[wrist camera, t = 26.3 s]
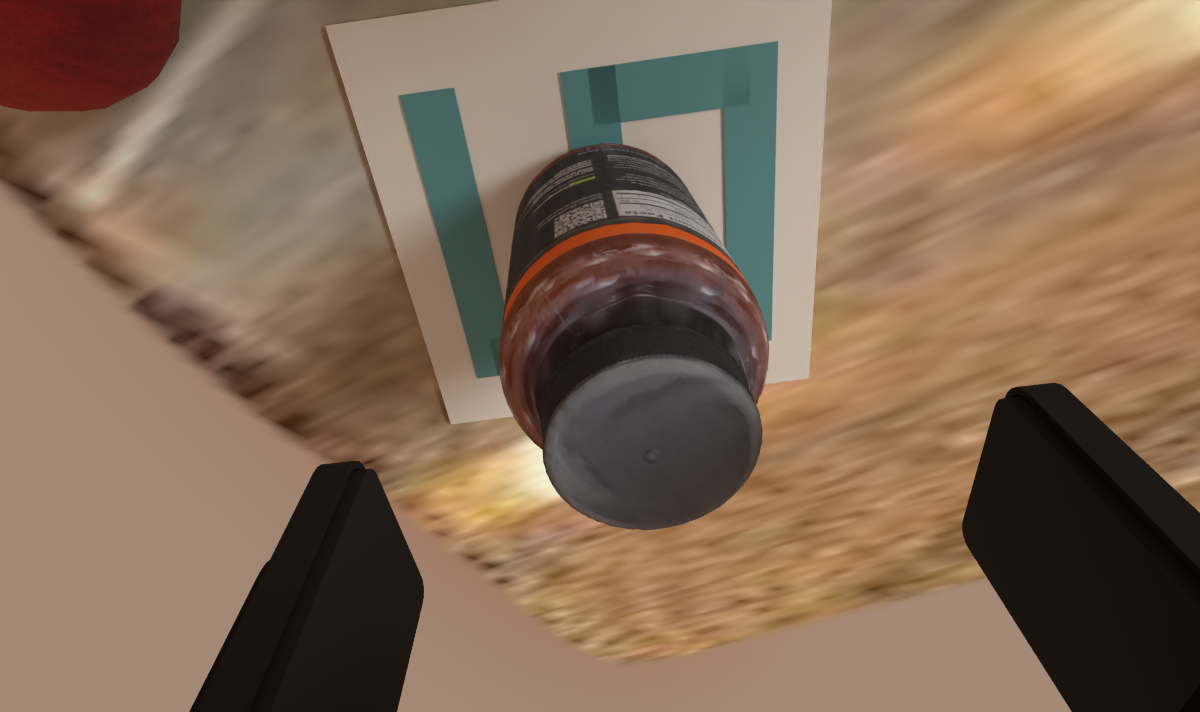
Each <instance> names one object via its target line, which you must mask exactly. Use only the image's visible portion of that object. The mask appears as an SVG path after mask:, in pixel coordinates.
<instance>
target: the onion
mask: <svg viewBox="0 0 1200 712" xmlns="http://www.w3.org/2000/svg"><path fill="white" fill-rule="evenodd" d="M180 11H181V0H0V105H2V106H5V107H10V108H15V109H20V110H25V111H87V110H95V109H103V108H107V107H109V106H111V105H113V104H115V103H116V102H118V101H120V100H122V99H124V98H126V97H128V96H130V95H132V94H134V93H136V92H138V91H140V90H142V89H144V88H146V87H147V86H148V85H149V84H150V83H151V82H153V81H154V80H155V79H156V78H157V77H158V75H159V74H160V72H161V70H162V69H163V67H164V65H165V63H166V62H167V60H168V58H169V56H170V55H171V53H172V51H173V50H174V48H175V46H176V44H177V43H178V41H179V28H180Z"/></svg>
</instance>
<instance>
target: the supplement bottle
mask: <svg viewBox="0 0 1200 712" xmlns="http://www.w3.org/2000/svg"><path fill="white" fill-rule="evenodd" d="M502 322H503V324H502V331H501V337H500V347H499V373H500V380H501V384H502V389H503V393H504V396H505V398H506V401H507V404H508V406H509V408H510V410H511V412H512V414H513V416H514V418H515V419H516V421H517V422H518V424H519V426H520V427H521V428H522V430H523V431H524V432H525V433H526V435H527V436H528V437H529V438H530V439H531V440H532V441H533V442H534V443H535V444H536V445H537V446H539V447H540V448H541V449H542V450H543V462H544V465H545V468H546V473H547V475H548V477H549V479H550V481H551V483H552V485H553V486H554V488H555V490H556V491H557V493H558V494H559V495H560V496H561V497H562V498H563V499H564V500H565V501H566V502H567V503H568V504H569V505H570V506H571V507H572V508H574V509H575V510H577V511H579V512H580V513H582V514H583V515H586V516H587V517H589V518H592V519H594V520H596V521H598V522H602V523H605V524H607V525H609V526H614V527H620V528H626V529H632V530H633V529H640V530H654V529H661V528H668V527H672V526H677V525H681V524H685V523H687V522H689V521H692V520H695V519H698V518H700V517H702V516H704V515H706V514H708V513H710V512H711V511H713V510H715V509H717V508H719V507H720V506H721V505H723V504H724V503H725V502H726V501H727V500H729V499H730V498H731V497H732V496H733V495H734V494H735V493H736V492H737V491H738V490H739V489H740V488H741V487H742V486H743V484H744V483H745V482H746V480H747V479H748V478H749V477H750V475H751V473H752V471H753V469H754V467H755V465H756V462H757V459H758V456H759V453H760V448H761V445H762V425H761V419H760V414H759V410H758V408H757V406H756V404H757V402H758V399H759V397H760V395H761V393H762V390H763V387H764V383H765V379H766V377H767V371H768V360H769V338H768V332H767V329H766V324H765V321H764V318H763V315H762V312H761V309H760V307H759V304H758V302H757V299H756V297H755V295H754V294H753V292H752V290H751V289H750V287H749V285H748V283H747V282H746V280H745V279H744V277H743V275H742V273H741V272H740V270H739V269H738V267H737V265H736V264H735V263H734V261H733V259H732V258H731V256H730V255H729V253H728V251H727V250H726V248H725V247H724V245H723V243H722V242H721V240H720V239H719V237H718V236H717V234H716V233H715V231H714V229H713V228H712V226H711V225H710V223H709V222H708V220H707V218H706V217H705V215H704V214H703V212H702V211H701V209H700V207H699V206H698V204H697V203H696V201H695V200H694V198H693V197H692V195H691V194H690V192H689V190H688V188H687V187H686V185H685V184H684V183H683V181H682V180H681V179H680V177H679V176H678V175H677V174H676V173H675V172H674V171H673V170H672V169H671V168H670V167H669V166H668V165H667V164H665V163H664V162H663V161H661V160H660V159H659V158H657V157H655V156H654V155H652V154H650V153H648V152H646V151H644V150H641V149H638V148H635V147H631V146H628V145H622V144H614V143H600V144H596V145H590V146H585V147H581V148H577V149H574V150H572V151H570V152H568V153H566V154H563V155H561V156H560V157H558V158H557V159H555V160H554V161H553V162H551V163H550V164H548V165H547V166H546V167H544V168H543V169H542V170H541V172H540V173H539V174H538V175H537V176H536V177H535V178H534V179H533V180H532V181H531V183H530V185H529V186H528V188H527V190H526V191H525V193H524V195H523V198H522V200H521V202H520V204H519V208H518V211H517V214H516V220H515V227H514V234H513V240H512V247H511V256H510V264H509V272H508V281H507V288H506V298H505V305H504V314H503V320H502Z"/></svg>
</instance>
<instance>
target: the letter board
mask: <svg viewBox="0 0 1200 712" xmlns="http://www.w3.org/2000/svg"><path fill="white" fill-rule="evenodd" d="M831 7H832V0H497V1H491V2H484V3H477V4H470V5H463V6H456V7H450V8H443V9H436V10H429V11H422V12H415V13H408V14H402V15H395V16H388V17H381V18H374V19H367V20H361V21H354V22H347V23H340V24H333V25H327V26H325V27H326V30H327V34H328V37H329V40H330V43H331V46H332V49H333V53H334V56H335V59H336V62H337V65H338V68H339V72H340V75H341V78H342V81H343V84H344V87H345V90H346V94H347V97H348V100H349V103H350V106H351V109H352V113H353V116H354V119H355V122H356V125H357V128H358V132H359V135H360V138H361V141H362V144H363V147H364V151H365V154H366V157H367V160H368V163H369V166H370V169H371V173H372V176H373V179H374V182H375V185H376V188H377V192H378V195H379V198H380V201H381V204H382V207H383V211H384V214H385V217H386V220H387V223H388V226H389V230H390V233H391V236H392V239H393V242H394V245H395V248H396V252H397V255H398V258H399V261H400V264H401V267H402V271H403V274H404V277H405V280H406V283H407V286H408V290H409V293H410V296H411V299H412V302H413V305H414V309H415V312H416V315H417V318H418V321H419V324H420V327H421V331H422V334H423V337H424V340H425V343H426V346H427V350H428V353H429V356H430V359H431V362H432V365H433V369H434V372H435V375H436V378H437V381H438V384H439V388H440V391H441V394H442V397H443V400H444V403H445V407H446V410H447V413H448V416H449V419H450V422H451V424H458V423H466V422H473V421H481V420H489V419H497V418H505V417H512V416H513V414H512V412H511V410H510V408H509V406H508V404H507V401H506V398H505V396H504V393H503V389H502V384H501V380H500V373H499V347H500V337H501V331H502V324H503V322H502V320H503V314H504V305H505V298H506V288H507V281H508V272H509V264H510V256H511V247H512V240H513V234H514V227H515V220H516V214H517V211H518V208H519V204H520V202H521V200H522V198H523V195H524V193H525V191H526V190H527V188H528V186H529V185H530V183H531V181H532V180H533V179H534V178H535V177H536V176H537V175H538V174H539V173H540V172H541V170H542V169H543V168H544V167H546V166H547V165H548V164H550V163H551V162H553V161H554V160H555V159H557V158H558V157H560V156H561V155H563V154H566V153H568V152H570V151H572V150H574V149H577V148H581V147H585V146H590V145H596V144H600V143H614V144H622V145H628V146H631V147H635V148H638V149H641V150H644V151H646V152H648V153H650V154H652V155H654V156H655V157H657V158H659V159H660V160H661V161H663V162H664V163H665V164H667V165H668V166H669V167H670V168H671V169H672V170H673V171H674V172H675V173H676V174H677V175H678V176H679V177H680V179H681V180H682V181H683V183H684V184H685V185H686V187H687V188H688V190H689V192H690V194H691V195H692V197H693V198H694V200H695V201H696V203H697V204H698V206H699V207H700V209H701V211H702V212H703V214H704V215H705V217H706V218H707V220H708V222H709V223H710V225H711V226H712V228H713V229H714V231H715V233H716V234H717V236H718V237H719V239H720V240H721V242H722V243H723V245H724V247H725V248H726V250H727V251H728V253H729V255H730V256H731V258H732V259H733V261H734V263H735V264H736V265H737V267H738V269H739V270H740V272H741V273H742V275H743V277H744V279H745V280H746V282H747V283H748V285H749V287H750V289H751V290H752V292H753V294H754V295H755V297H756V299H757V302H758V304H759V307H760V309H761V312H762V315H763V318H764V321H765V324H766V329H767V332H768V338H769V360H768V371H767V377H766V379H765V383H764V384H770V383H777V382H785V381H793V380H801V379H809V369H810V353H811V336H812V320H813V303H814V287H815V271H816V254H817V238H818V221H819V205H820V188H821V172H822V155H823V139H824V122H825V106H826V89H827V73H828V56H829V40H830V23H831Z"/></svg>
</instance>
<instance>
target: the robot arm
mask: <svg viewBox="0 0 1200 712" xmlns="http://www.w3.org/2000/svg"><path fill="white" fill-rule="evenodd" d="M962 531H963V536H964V539H965V542H966V544H967V546H968V548H969V550H970V551H971V553H972V555H973V556H974V558H975V559H976V561H977V562H978V564H979V566H980V567H981V569H982V570H983V572H984V574H985V575H986V577H987V578H988V580H989V581H990V583H991V585H992V586H993V588H994V589H995V591H996V592H997V594H998V595H999V597H1000V599H1001V600H1002V602H1003V603H1004V605H1005V607H1006V608H1007V610H1008V611H1009V613H1010V615H1011V616H1012V618H1013V619H1014V621H1015V623H1016V624H1017V626H1018V627H1019V629H1020V630H1021V632H1022V634H1023V635H1024V637H1025V638H1026V640H1027V642H1028V643H1029V645H1030V646H1031V648H1032V649H1033V651H1034V653H1035V654H1036V656H1037V657H1038V659H1039V661H1040V662H1041V664H1042V665H1043V667H1044V668H1045V670H1046V672H1047V673H1048V675H1049V676H1050V678H1051V680H1052V681H1053V682H1054V684H1055V685H1056V687H1057V689H1058V691H1059V692H1060V694H1061V695H1062V697H1063V699H1064V700H1065V702H1066V703H1067V705H1068V706H1069V708H1070V710H1071V711H1072V712H1200V513H1199V512H1198V511H1197V510H1196V509H1195V508H1194V507H1193V506H1192V505H1191V504H1190V503H1189V502H1188V501H1186V500H1185V499H1184V498H1183V497H1182V496H1181V495H1180V494H1179V493H1178V492H1177V491H1176V490H1175V489H1174V488H1173V487H1171V486H1170V485H1169V484H1168V483H1167V482H1166V481H1165V480H1164V479H1163V478H1162V477H1161V476H1160V475H1159V474H1158V473H1157V472H1155V471H1154V470H1153V469H1152V468H1151V467H1150V466H1149V465H1148V464H1147V463H1146V462H1145V461H1144V460H1143V459H1142V458H1140V457H1139V456H1138V455H1137V454H1136V453H1135V452H1134V451H1133V450H1132V449H1131V448H1130V447H1129V446H1128V445H1127V444H1125V443H1124V442H1123V441H1122V440H1121V439H1120V438H1119V437H1118V436H1117V435H1116V434H1115V433H1114V432H1113V431H1112V430H1110V429H1109V428H1108V427H1107V426H1106V425H1105V424H1104V423H1103V422H1102V421H1101V420H1100V419H1099V418H1098V417H1097V416H1096V415H1094V414H1093V413H1092V412H1091V411H1090V410H1089V409H1088V408H1087V407H1086V406H1085V405H1084V404H1083V403H1082V402H1081V401H1079V400H1078V399H1077V398H1076V397H1075V396H1074V395H1073V394H1072V393H1071V392H1070V391H1069V390H1068V389H1067V388H1065V387H1064V386H1062V385H1061V384H1057V383H1048V384H1039V385H1030V386H1021V387H1015V388H1011V389H1010V390H1009V391H1008V392H1007V394H1006V397H1005V398H1003V399H1000V400H999V401H997V403H996V405H995V407H994V411H993V415H992V418H991V422H990V425H989V429H988V433H987V436H986V440H985V443H984V447H983V450H982V454H981V458H980V461H979V465H978V468H977V472H976V476H975V479H974V483H973V486H972V490H971V494H970V497H969V501H968V504H967V508H966V512H965V515H964V519H963V524H962ZM423 598H424V586H423V580H422V577H421V575H420V572H419V570H418V568H417V565H416V563H415V561H414V559H413V556H412V554H411V552H410V550H409V547H408V545H407V543H406V540H405V538H404V536H403V533H402V531H401V529H400V526H399V524H398V522H397V519H396V517H395V515H394V513H393V510H392V508H391V506H390V503H389V501H388V499H387V497H386V494H385V492H384V490H383V487H382V485H381V483H380V481H379V478H378V476H377V474H376V472H375V471H374V470H373V469H365V467H364V466H363V464H362V463H361V462H359V461H349V462H340V463H331V464H322V465H320V466H318V467H317V468H316V470H315V471H314V473H313V475H312V476H311V479H310V481H309V483H308V485H307V487H306V489H305V491H304V493H303V495H302V497H301V499H300V501H299V503H298V505H297V507H296V509H295V511H294V513H293V515H292V517H291V519H290V521H289V523H288V525H287V527H286V529H285V531H284V533H283V535H282V537H281V539H280V541H279V543H278V545H277V547H276V549H275V551H274V553H273V555H272V557H271V559H270V560H269V561H268V562H267V563H266V564H265V565H264V567H263V568H262V570H261V571H260V573H259V575H258V577H257V579H256V581H255V583H254V585H253V587H252V588H251V591H250V592H249V595H248V597H247V598H246V600H245V603H244V605H243V606H242V608H241V610H240V612H239V614H238V616H237V618H236V620H235V622H234V624H233V627H232V628H231V630H230V632H229V634H228V636H227V638H226V640H225V642H224V644H223V646H222V648H221V650H220V652H219V654H218V656H217V658H216V660H215V662H214V664H213V666H212V668H211V670H210V672H209V674H208V676H207V678H206V680H205V682H204V684H203V686H202V688H201V690H200V692H199V694H198V696H197V698H196V700H195V702H194V704H193V706H192V708H191V710H190V712H397V709H398V705H399V701H400V697H401V692H402V688H403V684H404V680H405V676H406V671H407V667H408V663H409V659H410V654H411V650H412V646H413V642H414V637H415V633H416V629H417V625H418V621H419V616H420V612H421V608H422V603H423Z"/></svg>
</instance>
